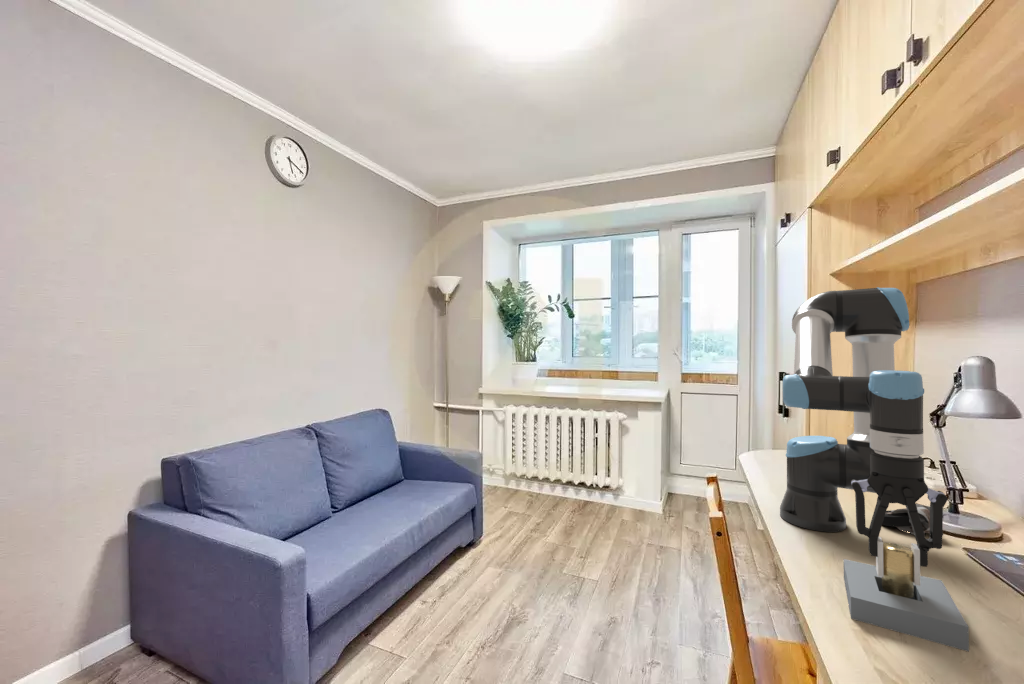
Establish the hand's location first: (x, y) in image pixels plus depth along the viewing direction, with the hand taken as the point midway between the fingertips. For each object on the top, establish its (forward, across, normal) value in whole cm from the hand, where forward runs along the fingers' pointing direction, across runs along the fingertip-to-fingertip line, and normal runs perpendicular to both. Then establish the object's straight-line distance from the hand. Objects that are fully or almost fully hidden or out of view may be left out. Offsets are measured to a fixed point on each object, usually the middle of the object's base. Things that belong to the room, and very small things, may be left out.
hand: (897, 577), depth 80 cm
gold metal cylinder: (+3, 0, 0) cm, 3 cm away
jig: (+6, 0, 0) cm, 6 cm away
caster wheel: (+6, +8, +46) cm, 47 cm away
